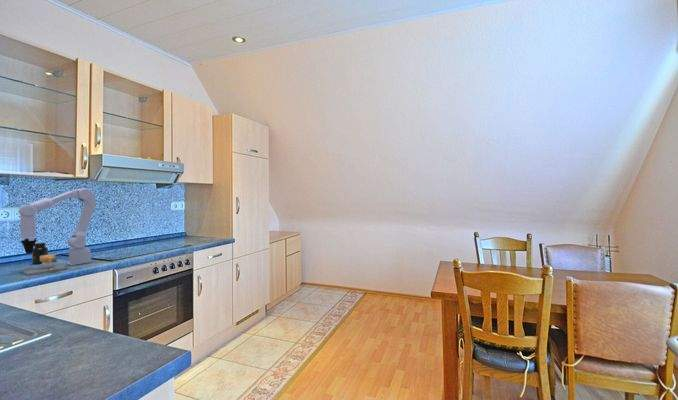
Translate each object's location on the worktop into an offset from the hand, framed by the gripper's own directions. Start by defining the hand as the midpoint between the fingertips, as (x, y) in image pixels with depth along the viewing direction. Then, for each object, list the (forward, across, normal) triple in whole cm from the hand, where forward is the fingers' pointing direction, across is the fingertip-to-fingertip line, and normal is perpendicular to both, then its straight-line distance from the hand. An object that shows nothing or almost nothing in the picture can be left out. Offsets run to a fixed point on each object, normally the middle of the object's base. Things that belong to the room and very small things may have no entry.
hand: (28, 253), depth 163 cm
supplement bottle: (+10, -20, +8) cm, 24 cm away
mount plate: (+9, +7, +4) cm, 13 cm away
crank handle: (+4, +10, +6) cm, 12 cm away
